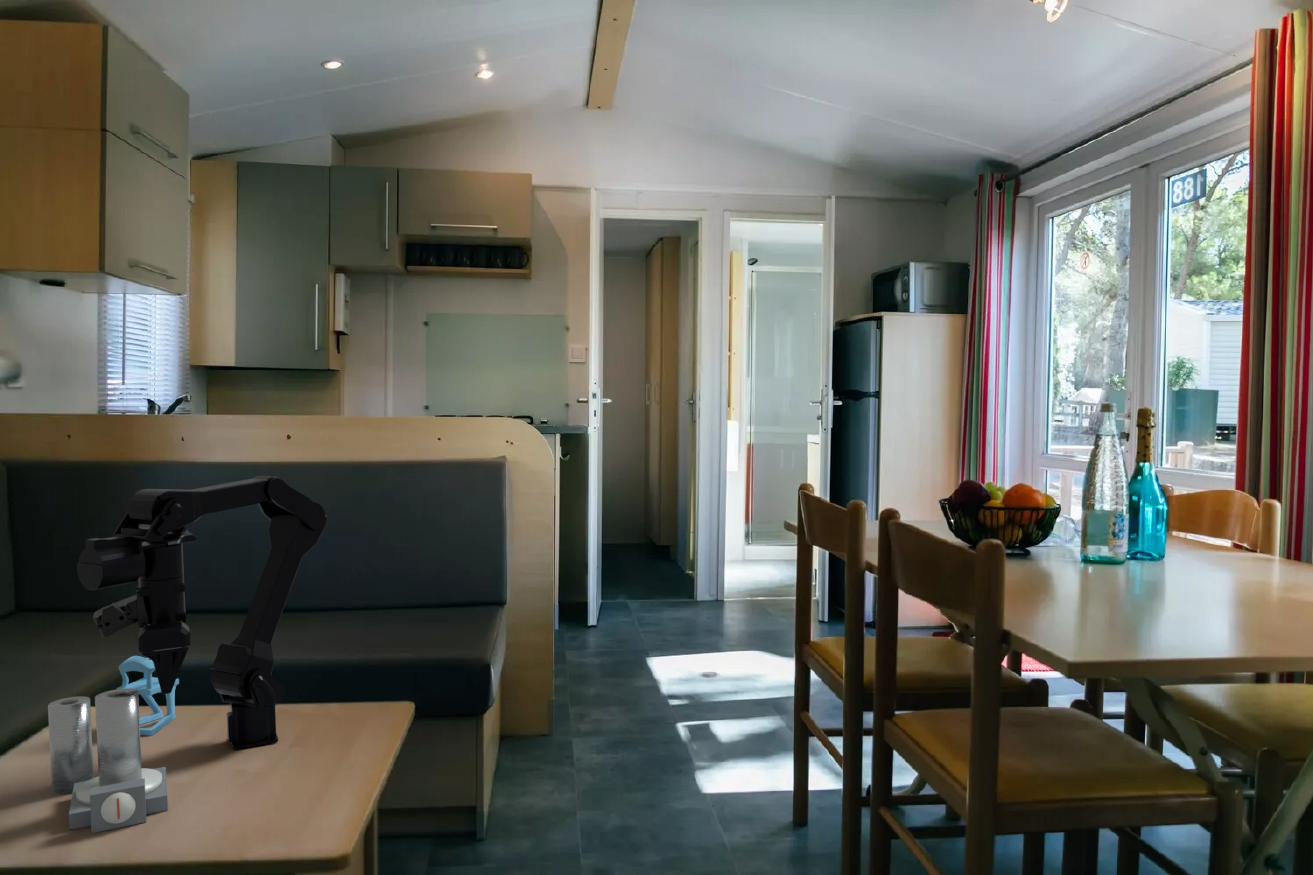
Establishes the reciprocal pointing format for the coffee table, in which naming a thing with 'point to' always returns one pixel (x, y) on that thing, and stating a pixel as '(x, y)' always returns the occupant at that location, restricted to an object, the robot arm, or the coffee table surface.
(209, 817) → the coffee table surface
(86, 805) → the scale
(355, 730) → the coffee table surface
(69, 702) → the cylinder
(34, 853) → the coffee table surface
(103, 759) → the silver metal cylinder
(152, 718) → the chair
